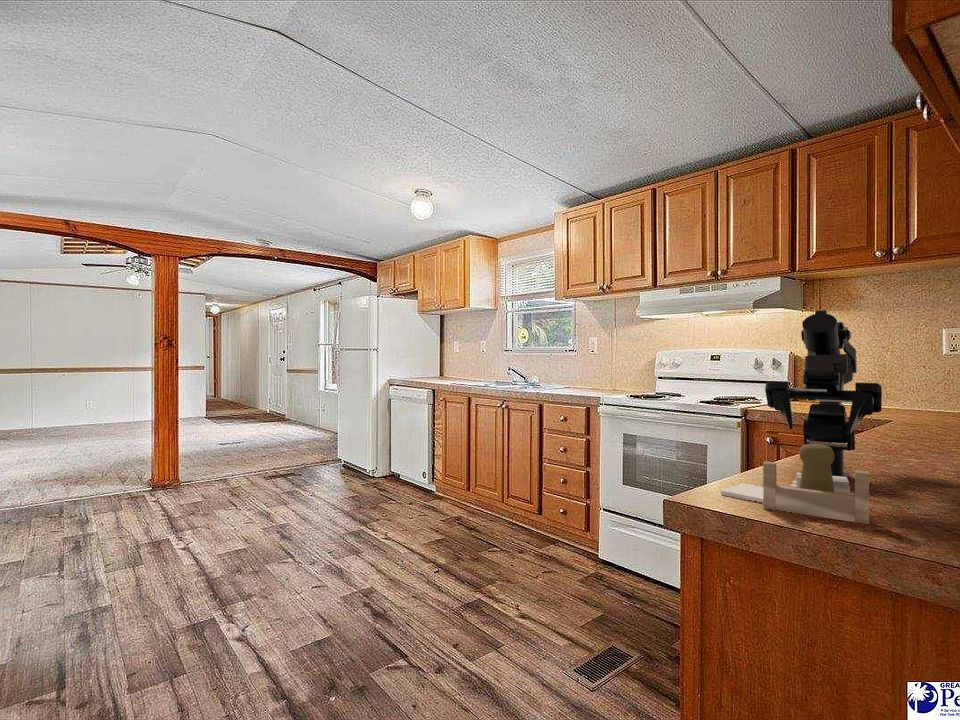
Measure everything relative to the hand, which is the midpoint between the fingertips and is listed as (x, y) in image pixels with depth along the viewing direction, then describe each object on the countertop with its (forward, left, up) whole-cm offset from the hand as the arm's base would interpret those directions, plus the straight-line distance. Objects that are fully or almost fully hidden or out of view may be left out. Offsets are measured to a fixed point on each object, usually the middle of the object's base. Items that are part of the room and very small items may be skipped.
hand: (819, 430), depth 97 cm
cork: (+7, +2, -13) cm, 15 cm away
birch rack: (+12, +3, -13) cm, 18 cm away
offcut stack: (-1, 0, -13) cm, 13 cm away
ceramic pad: (+7, -9, -13) cm, 17 cm away
